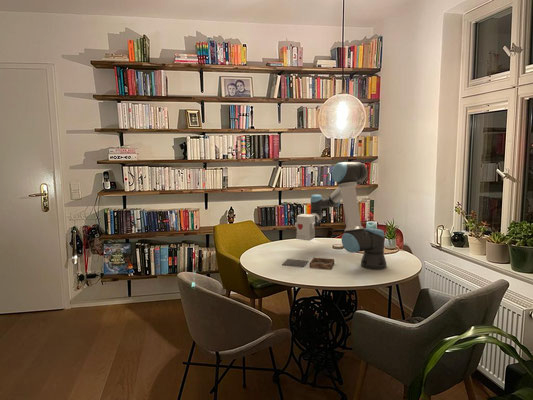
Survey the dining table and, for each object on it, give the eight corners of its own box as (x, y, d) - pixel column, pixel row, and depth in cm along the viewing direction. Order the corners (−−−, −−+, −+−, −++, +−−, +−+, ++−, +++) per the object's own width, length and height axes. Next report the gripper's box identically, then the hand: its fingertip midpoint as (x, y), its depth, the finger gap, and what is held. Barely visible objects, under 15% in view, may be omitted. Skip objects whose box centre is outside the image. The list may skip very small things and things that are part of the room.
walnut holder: (334, 263, 235) (334, 258, 235) (330, 269, 223) (331, 264, 223) (314, 261, 240) (314, 257, 239) (309, 267, 228) (309, 262, 227)
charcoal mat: (308, 261, 241) (308, 260, 241) (303, 267, 229) (303, 266, 229) (287, 259, 245) (287, 258, 245) (281, 265, 233) (281, 264, 233)
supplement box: (295, 239, 233) (296, 215, 231) (301, 236, 241) (302, 213, 239) (309, 241, 229) (309, 216, 227) (315, 238, 237) (315, 214, 235)
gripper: (329, 226, 247) (321, 233, 226) (296, 224, 255) (286, 230, 234) (329, 215, 246) (321, 220, 225) (296, 213, 254) (286, 218, 233)
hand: (303, 225), depth 230 cm, fingers closed on supplement box, 10 cm apart
